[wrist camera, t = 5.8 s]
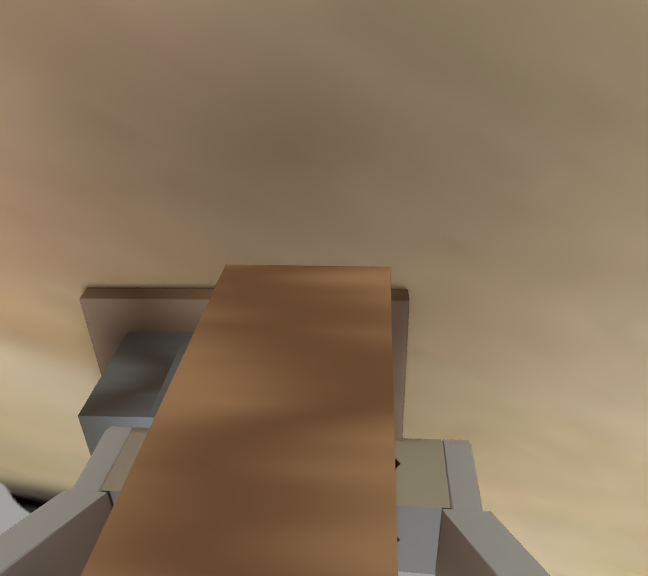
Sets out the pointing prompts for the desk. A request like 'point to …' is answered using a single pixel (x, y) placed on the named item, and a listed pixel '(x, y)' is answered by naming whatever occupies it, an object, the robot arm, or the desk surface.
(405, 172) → the desk surface
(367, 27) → the desk surface
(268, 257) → the desk surface
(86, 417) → the hole block
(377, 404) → the peg
